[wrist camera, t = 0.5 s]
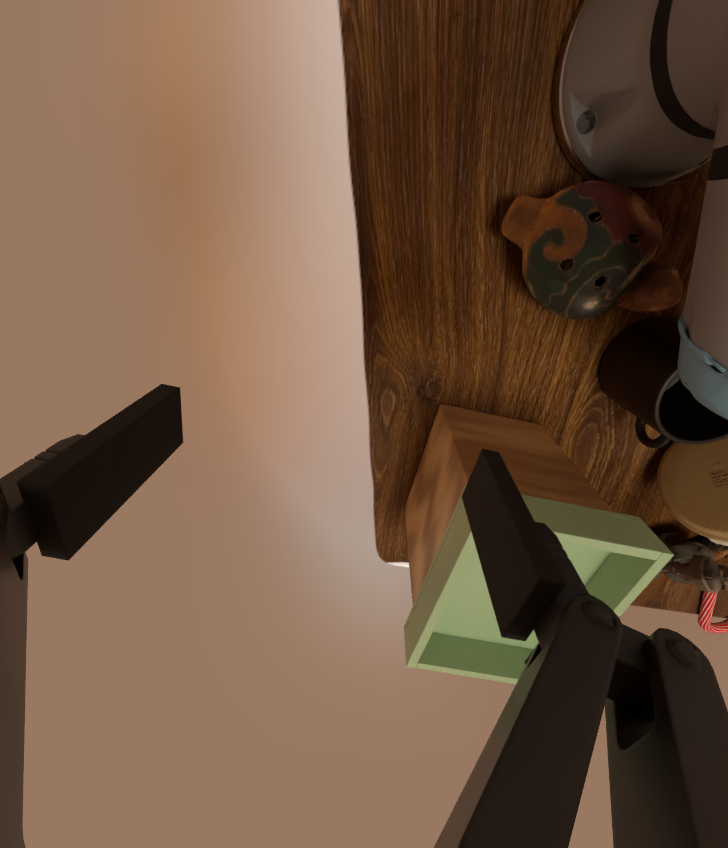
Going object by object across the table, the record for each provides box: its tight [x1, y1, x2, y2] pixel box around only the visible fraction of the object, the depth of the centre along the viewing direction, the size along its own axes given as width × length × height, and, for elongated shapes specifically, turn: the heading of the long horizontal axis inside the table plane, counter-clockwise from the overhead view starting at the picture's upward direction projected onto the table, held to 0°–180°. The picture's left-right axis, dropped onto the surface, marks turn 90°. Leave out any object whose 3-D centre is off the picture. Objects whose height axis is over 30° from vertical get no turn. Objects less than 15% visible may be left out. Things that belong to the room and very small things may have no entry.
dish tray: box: [404, 483, 674, 684], centre depth 29 cm, size 18×14×4 cm
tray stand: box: [404, 404, 614, 605], centre depth 37 cm, size 16×12×16 cm
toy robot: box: [651, 532, 728, 594], centre depth 45 cm, size 9×25×12 cm
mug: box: [599, 317, 728, 448], centre depth 34 cm, size 9×12×9 cm
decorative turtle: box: [501, 181, 684, 319], centre depth 30 cm, size 10×15×8 cm, turn 70°
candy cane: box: [698, 572, 728, 633], centre depth 53 cm, size 6×15×2 cm, turn 17°
